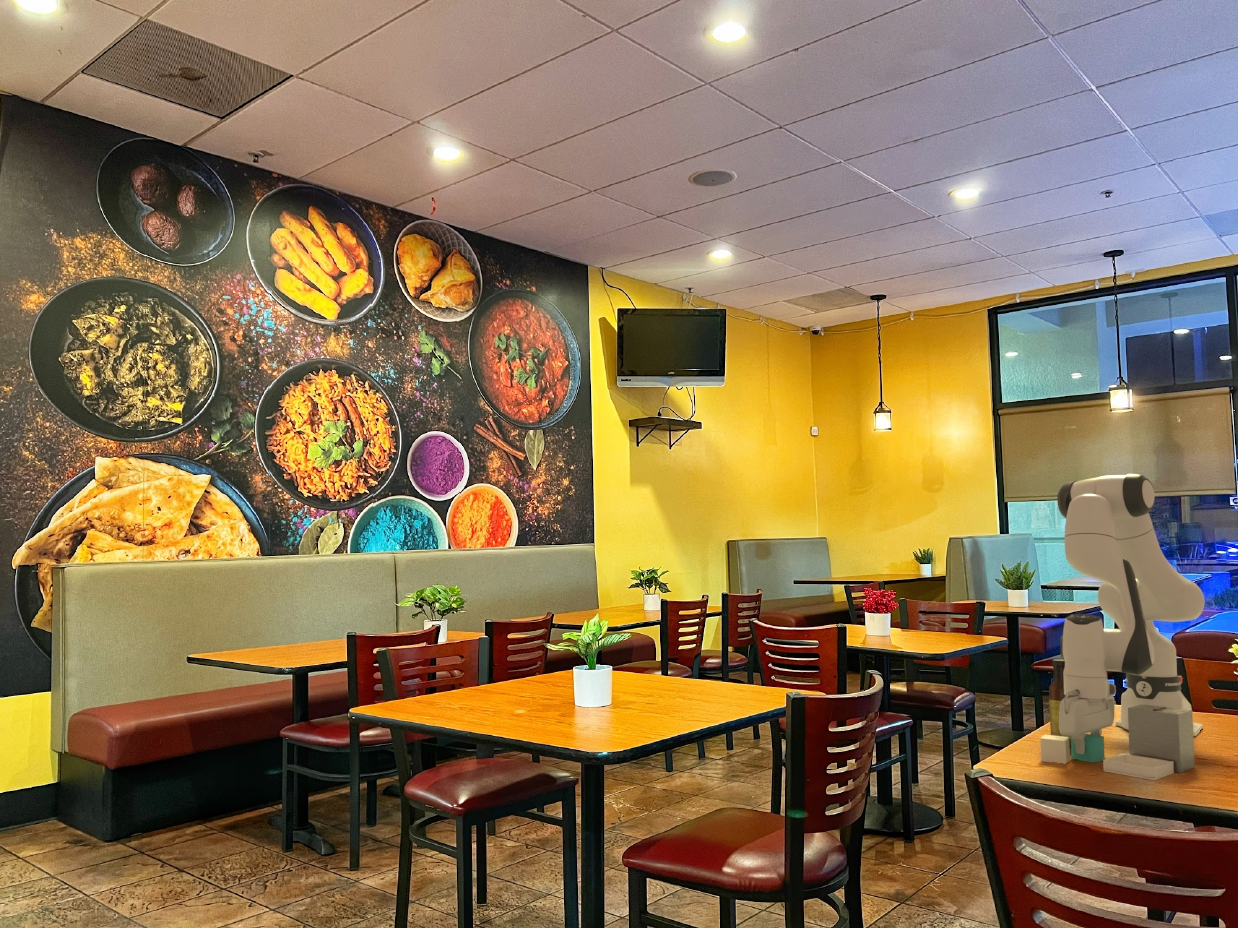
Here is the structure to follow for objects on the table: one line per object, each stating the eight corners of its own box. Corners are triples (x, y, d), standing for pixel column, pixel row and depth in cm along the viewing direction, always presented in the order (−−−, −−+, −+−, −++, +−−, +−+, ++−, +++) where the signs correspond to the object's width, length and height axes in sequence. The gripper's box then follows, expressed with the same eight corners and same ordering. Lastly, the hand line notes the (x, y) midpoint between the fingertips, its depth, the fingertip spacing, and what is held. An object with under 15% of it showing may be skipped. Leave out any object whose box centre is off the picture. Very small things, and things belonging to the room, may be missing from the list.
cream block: (1045, 757, 210) (1044, 734, 211) (1069, 760, 207) (1069, 737, 208) (1041, 761, 206) (1040, 738, 206) (1065, 764, 203) (1065, 740, 204)
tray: (1123, 763, 204) (1122, 753, 204) (1173, 772, 196) (1173, 761, 196) (1103, 770, 197) (1103, 759, 197) (1155, 780, 190) (1154, 768, 190)
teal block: (1081, 755, 212) (1080, 732, 212) (1104, 759, 208) (1103, 736, 208) (1071, 758, 208) (1070, 735, 209) (1094, 762, 205) (1094, 739, 205)
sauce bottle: (1083, 748, 219) (1080, 662, 221) (1054, 746, 220) (1051, 661, 222) (1075, 742, 225) (1072, 658, 227) (1047, 741, 227) (1045, 657, 228)
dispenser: (1145, 758, 209) (1143, 702, 210) (1195, 766, 201) (1192, 709, 202) (1130, 764, 203) (1127, 706, 204) (1180, 772, 196) (1178, 713, 197)
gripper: (1079, 694, 200) (1081, 760, 199) (1119, 685, 214) (1121, 747, 212) (1049, 690, 205) (1051, 755, 204) (1090, 682, 218) (1092, 742, 217)
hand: (1087, 751), depth 208 cm, fingers closed on teal block, 5 cm apart
